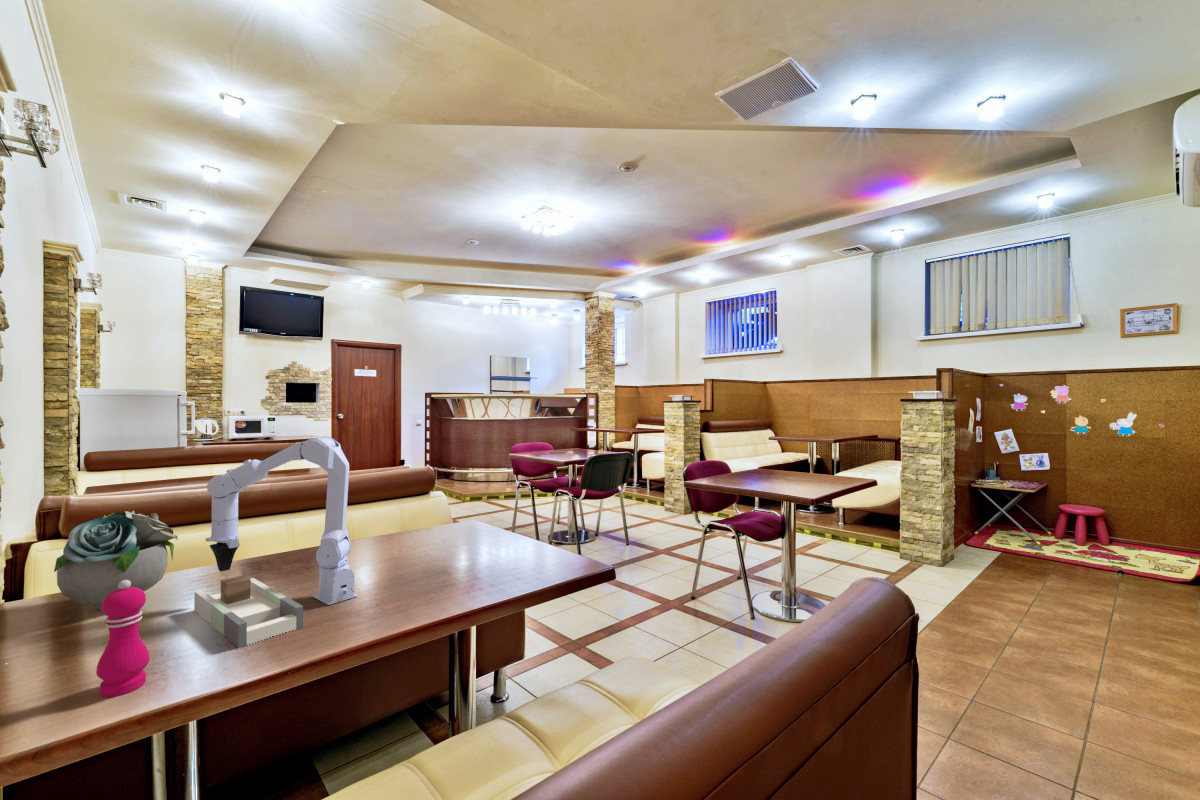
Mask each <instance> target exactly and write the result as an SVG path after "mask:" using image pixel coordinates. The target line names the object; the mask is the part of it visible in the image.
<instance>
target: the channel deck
mask: <svg viewBox="0 0 1200 800" xmlns="http://www.w3.org/2000/svg"><path fill="white" fill-rule="evenodd" d="M249 578H250V577H249ZM250 579H251V586H250V599H246V600H242V601H239V602H235V603H231V604H226V603H224V602H223V601H222V600H220V598H221V592H219V593H216V594H211V595H210V594H208V592H207V593H206V591H204V590H203V589H200V590H196V591H194V597H193V598H194V602H193V603H194V610H193V611H194V612H195V613H196V614H197V615H198V616H200V618H202V619H203V620H204V621H205V622H207V623H208V624H209V625H210V626H211V627H212V628H213V629H215V630H216V631H217V632H218V633H220V634H221V635H222V636H224V638H226V639H227V640H228V641H230V643H231V644H233V645H234V646H235V645H236V646H235V647H237V648H238V649H240V647H241V648H243V646H244V647H246V645H247V646H250V645H253V644H255V642H256V643H259V642H262V641H265V640H267V639H266V638H268V639H270V638H269V637H271V638H273V637H272V636H275V637H277V636H276V635H278V636H280V635H279V634H281V635H283V634H282V633H284V634H286V633H285V632H287V633H289V631H290V632H293V631H296V630H299V629H302V628H304V606H303V605H302V604H300V603H298V602H297V601H295V600H293V599H292V598H290V597H289V596H286V595H285V594H282V593H281V592H279V591H277V590H276V589H274V588H272V587H270V586H269V585H266V584H265V583H264V582H261V581H259V580H258V579H256V578H254V577H251V578H250ZM292 630H293V631H292ZM264 639H265V640H264ZM261 640H262V641H261ZM258 641H259V642H258ZM252 643H253V644H252ZM249 644H250V645H249Z"/></svg>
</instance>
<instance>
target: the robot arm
mask: <svg viewBox="0 0 1200 800" xmlns="http://www.w3.org/2000/svg"><path fill="white" fill-rule="evenodd" d="M304 459H305V460H306V461H308V462H310V463H312V464H314V465H317V466H320V467H321V469H323V470H324V471H325V472H326V473H327V486H326V501H325V502H326V503H325V518H324V530H323V533H322V536H321V539H320V545H319V548H318V549H317V551H316V554H315V559H316V562H317V564H319V566H318V570H319V571H318V580H319V581H318V589H319V590H318V593H316V594H312V597H313V598H314V599H316V600H318V601H319V602H322V603H323V604H326V605H327V606H328V605H330V606H331V605H332V604H333V605H334V604H336V603H340V602H343V601H347V600H351V599H353V598H356V597H358V596H359V595H358V593H356V592H355V573H354V571H353V569H352V568H350V559H349V557H348V556H349V554H350V553H351V551H352V543H351V541H350V538H349V533H350V532H349V531H348V530H349V529H347V516H348V515H347V513H348V499H349V498H348V495H349V483H350V482H349V480H350V463H349V460H348V458H347V457H346V455H345V453H344V452H343V450H342V446H341V443H340V442H338V441H336V439H334V438H333V437H331V436H326V435H325V436H321V437H314V438H308V439H307V440H305V441H301V442H297V443H295V444H292V445H290V446H288V447H287V448H284V449H282V450H280V451H278V452H277V453H275V454H273V455H271V456H269V457H267V458H265V459H263V460H259V459H256V458H255V459H247V460H244V461H243V464H241V465H239V466H237V467H235V468H230V469H227V470H226V473H224V474H216V475H214V476H213V477H212V478H211V479H210V480H209V481H207V485H206V490H207V492H208V494H209V495H210V496H211V523H210V524H211V525H210V526H211V532H210V533H211V536H210V537H206V538H205V542H208V543H209V542H214V543H213V544H210V545H209V547H210V549H211V551H212V552H213V554H214V557H215V562H216V566H217V569H218V571H219V572H226V571H229V570H231V566H232V564H233V559H234V557H235V554H236V552H237V550H238V549H239V547H240V540H239V537H240V536H239V535H240V534H239V495H240V491H242V489H244V488H247V487H249V486H251V485H253V484H255V483H257V482H259V481H263V480H264V479H266V478H267V476H268V473H269V471H271V470H274V469H276V468H278V467H281V466H283V465H285V464H287V463H289V462H291V461H294V460H304Z"/></svg>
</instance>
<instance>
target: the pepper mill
mask: <svg viewBox="0 0 1200 800" xmlns="http://www.w3.org/2000/svg"><path fill="white" fill-rule="evenodd" d="M130 586H131V582H130V581H129V580H123V581H121V582H120V583H119V584H118V588H119V589H117V590H115V591H113V592H111V593H110V594H109V595H107V596H106V597H105V599H104V601H103V603H102V610H101V611H102V613H103V614H104V615H106V616H107V617H106V618H105V624H104V626H105V627H106V628H108V630H109V631H108V632H109V634H108V642H107V644H106V647H105V649H104V650H103V653H102V654H101V655H100V657H99V660H98V663H97V666H96V670H95V671H96V673H95V674H96V676H97V677H98V678H99V679H100V680H102V681H101V682H100V683H99V695H100V696H102V697H105V698H106V697H107V698H111V697H117V696H122V695H124V694H128V693H131V692H133V691H136V690H138V689H139V688H141V687H143V685H145V683H146V682H147V671H145V670H144V669H145V668H146V667H147V665H148V664H149V663H150V652H149V649H148V647H147V645H146V644H145V643H144V641H143V640H142V638H141V635H140V632H139V626H140V625H139V623H140V621H141V620H142V619H143V616H142V614H143V611H142V610H141V609H142V608H143V607H144V606H145V604H146V601H147V596H146V593H145V591H143V590H141V589H139V588H137V587H130Z"/></svg>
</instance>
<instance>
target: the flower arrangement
mask: <svg viewBox="0 0 1200 800" xmlns="http://www.w3.org/2000/svg"><path fill="white" fill-rule="evenodd" d="M150 515H151V516H149V515H145V514H142V513H135V510H132V512H131V511H124V512H122V511H121V512H119V511H118V512H113V513H111V514H109V515H107V516H106V515H105V514H104V515H103V516H100V517H98V518H94V519H92V520H89V521H86V522H83V523H81V524H78V525H77V526H75V527H74V528H73V529H72V530H71V531H70V532H69V535H68V538H67V539H68V540H67V541H66V542H65V545H64V547H63V550H62V551H63V554H61V556H59V557H56V560H55V565H54V570H53V573H56V584H57V587H58V589H59V591H60V592H61V594H62V595H63V596H64V597H66V598H69V599H70V600H72V601H75V602H77V603H84V604H89V605H90V607H91V609H93V610H95V609H99V610H98V611H102V610H101V609H102V603H103V601H104V599H105V597H106V596H107V595H109V594H110V593H111V592H113V591H115V590H117V589H119V588H118V584H119V583H120V582H121V581H123V580H129V581H130V582H131V586H130V587H137V588H139V589H141V590H143V591H144V592H145V591H146V592H147V591H148V590H150V589H151V588H153V587H154V586H155V585H156V584H158V583H159V582H160V581H162V579H163V578H164V575H165V574H166V571H167V568H168V560H169V559H168V556H169V554H168V549H167V547H169V551H170V556H171V557H170V558H171V561H172V562H173V559H174V558H173V557H174V549H175V544H174V543H173V542H171V540H173V539H175V540H177V541H178V538H179V536H178V535H176V534H174V529H172V528H171V527H169V525H167V524H166V523H165V522H162V521H161V520H159V515H158V513H157V512H153V513H151V514H150Z"/></svg>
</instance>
